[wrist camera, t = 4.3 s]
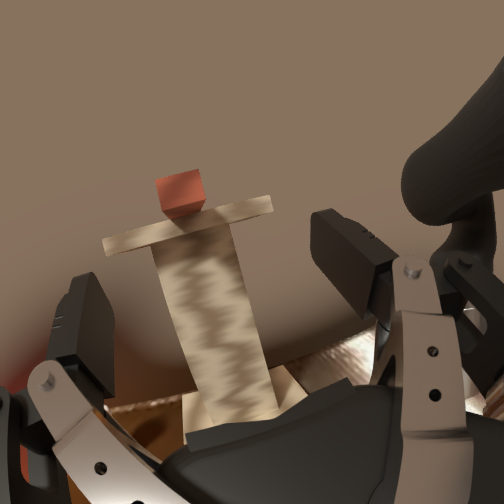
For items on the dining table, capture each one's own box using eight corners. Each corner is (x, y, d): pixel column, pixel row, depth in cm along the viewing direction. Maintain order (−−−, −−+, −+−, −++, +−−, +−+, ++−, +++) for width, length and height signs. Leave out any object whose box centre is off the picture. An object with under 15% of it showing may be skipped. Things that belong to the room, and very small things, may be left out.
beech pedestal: (284, 373, 52) (242, 208, 49) (319, 416, 36) (269, 194, 33) (185, 403, 48) (129, 239, 45) (189, 457, 32) (101, 239, 29)
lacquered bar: (195, 220, 47) (192, 206, 47) (205, 199, 22) (198, 168, 21) (175, 225, 46) (171, 211, 46) (162, 210, 21) (155, 179, 21)
